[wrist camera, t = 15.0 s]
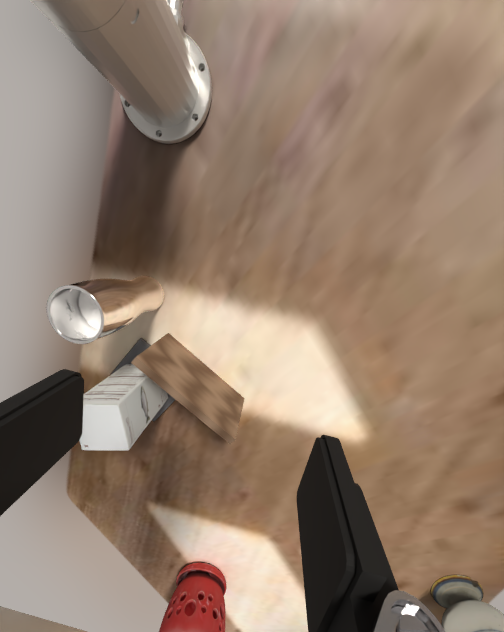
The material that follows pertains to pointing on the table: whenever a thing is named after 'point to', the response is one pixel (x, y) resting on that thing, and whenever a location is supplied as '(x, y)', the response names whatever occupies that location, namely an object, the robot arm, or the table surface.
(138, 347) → the mat
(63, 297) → the metal tumbler
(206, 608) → the plant pot
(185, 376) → the wood grain panel
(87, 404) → the supplement box
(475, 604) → the apothecary jar
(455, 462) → the table surface
